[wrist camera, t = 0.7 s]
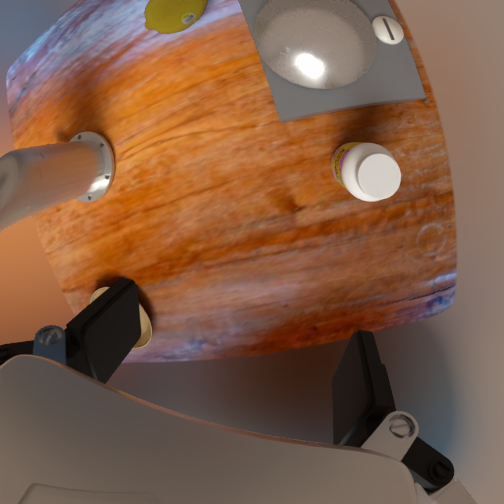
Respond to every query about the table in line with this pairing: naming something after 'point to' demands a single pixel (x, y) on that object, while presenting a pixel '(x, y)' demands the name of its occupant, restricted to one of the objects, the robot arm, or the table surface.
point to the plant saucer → (144, 320)
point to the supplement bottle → (366, 170)
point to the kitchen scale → (362, 90)
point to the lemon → (173, 14)
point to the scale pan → (315, 42)
